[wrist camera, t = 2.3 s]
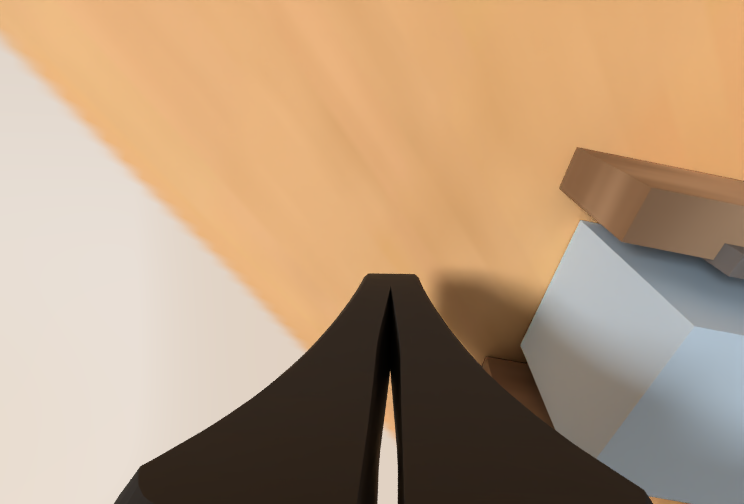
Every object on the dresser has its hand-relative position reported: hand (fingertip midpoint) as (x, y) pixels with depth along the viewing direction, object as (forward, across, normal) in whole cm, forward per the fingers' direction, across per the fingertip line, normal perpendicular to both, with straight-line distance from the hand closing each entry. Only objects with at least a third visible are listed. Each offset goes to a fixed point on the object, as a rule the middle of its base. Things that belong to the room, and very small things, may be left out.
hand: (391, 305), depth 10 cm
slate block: (+2, -8, +2) cm, 8 cm away
